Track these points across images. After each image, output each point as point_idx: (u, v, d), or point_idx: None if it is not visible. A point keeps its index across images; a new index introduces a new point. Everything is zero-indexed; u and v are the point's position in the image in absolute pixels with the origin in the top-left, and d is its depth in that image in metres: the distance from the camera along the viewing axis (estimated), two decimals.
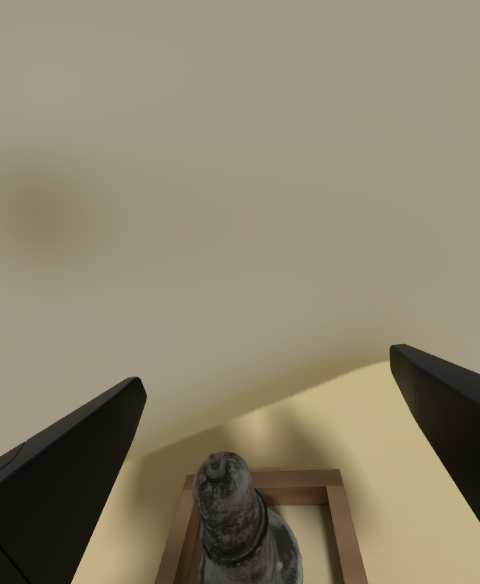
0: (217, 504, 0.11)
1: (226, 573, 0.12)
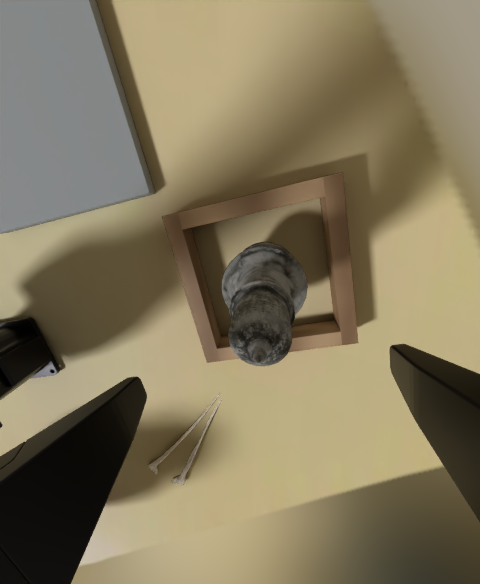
0: (233, 349, 0.11)
1: None
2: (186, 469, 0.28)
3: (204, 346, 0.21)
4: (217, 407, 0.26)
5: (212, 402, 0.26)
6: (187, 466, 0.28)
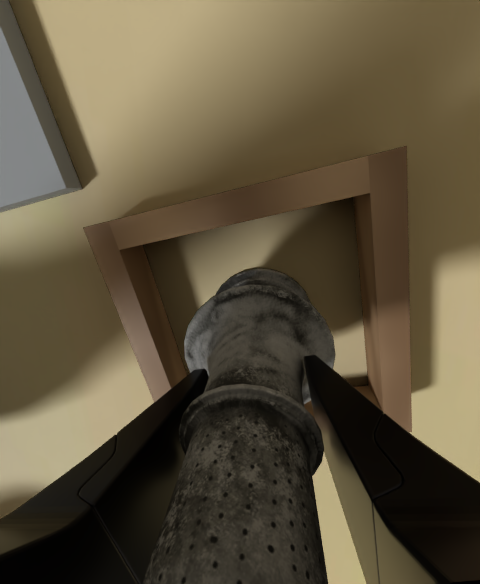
0: None
1: None
2: None
3: None
4: None
5: None
6: None
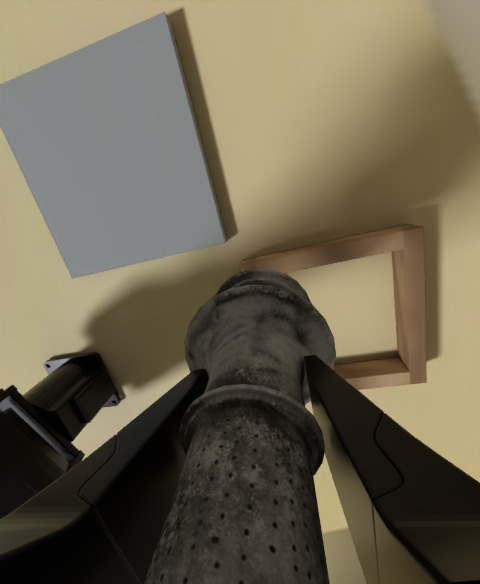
0: None
1: None
2: None
3: None
4: None
5: None
6: None
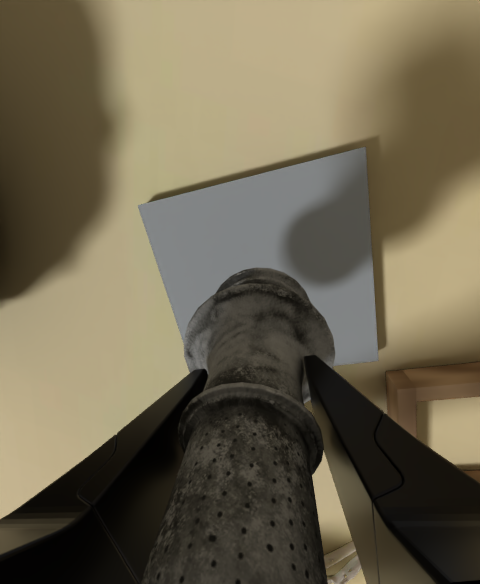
0: None
1: None
2: (350, 576, 0.28)
3: None
4: None
5: None
6: (351, 573, 0.28)
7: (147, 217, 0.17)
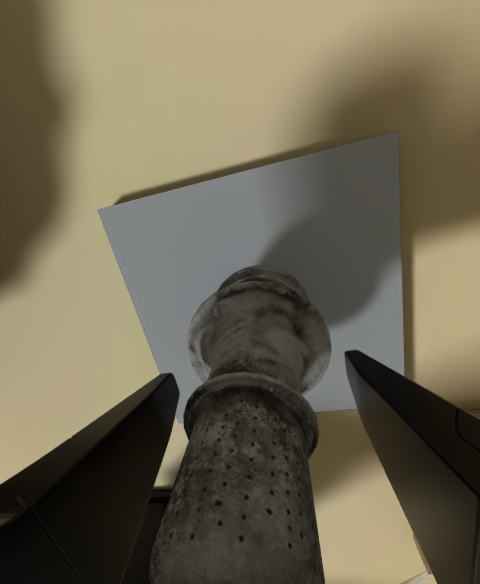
0: None
1: None
2: None
3: None
4: (424, 581, 0.21)
5: (420, 577, 0.21)
6: None
7: (110, 225, 0.13)
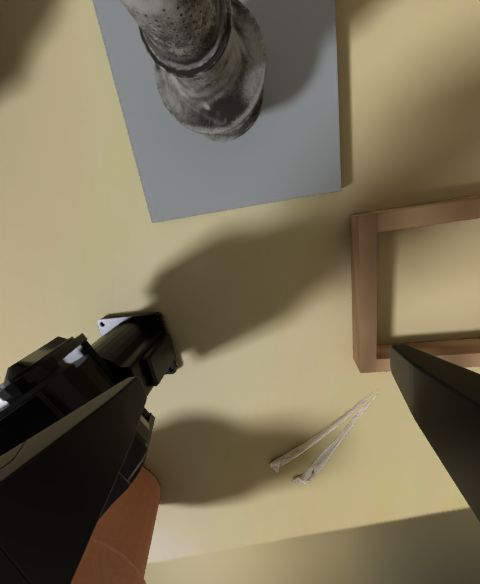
0: None
1: None
2: (317, 469, 0.27)
3: (363, 356, 0.20)
4: (368, 405, 0.24)
5: (364, 399, 0.24)
6: (319, 466, 0.27)
7: (98, 1, 0.15)
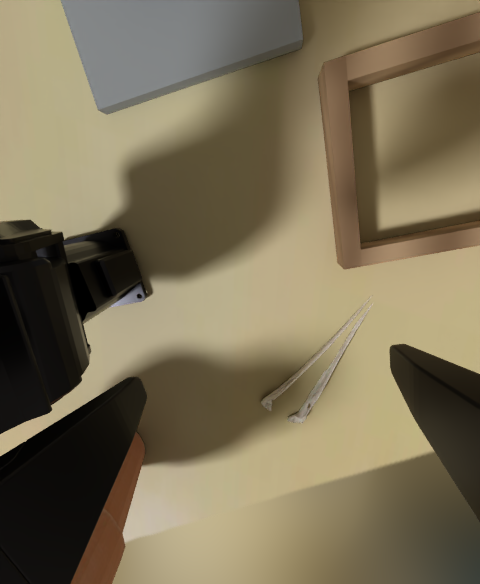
0: None
1: None
2: (313, 400, 0.24)
3: (345, 247, 0.18)
4: (364, 316, 0.21)
5: (359, 310, 0.21)
6: (315, 396, 0.24)
7: None
